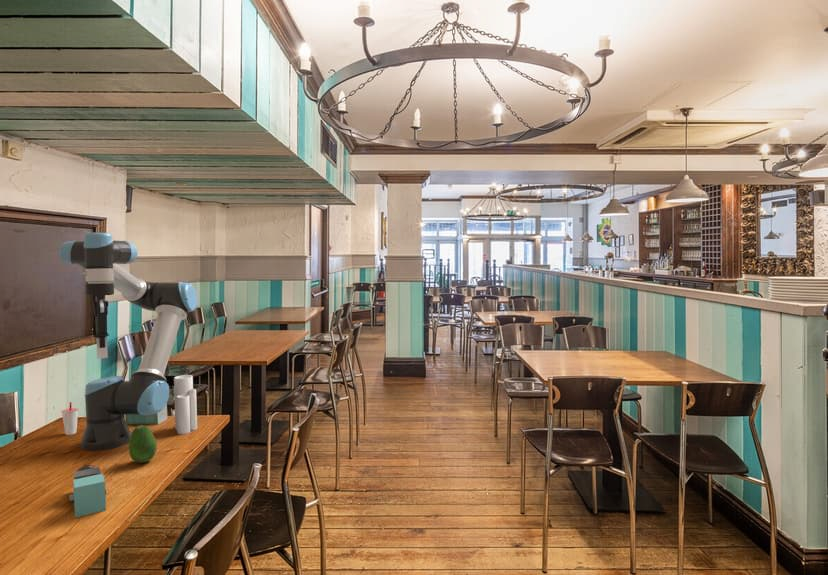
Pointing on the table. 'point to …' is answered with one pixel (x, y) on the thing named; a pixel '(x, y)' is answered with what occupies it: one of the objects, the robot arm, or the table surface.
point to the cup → (70, 420)
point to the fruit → (142, 444)
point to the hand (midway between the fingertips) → (102, 357)
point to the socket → (89, 495)
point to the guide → (84, 474)
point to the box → (148, 418)
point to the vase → (185, 404)
